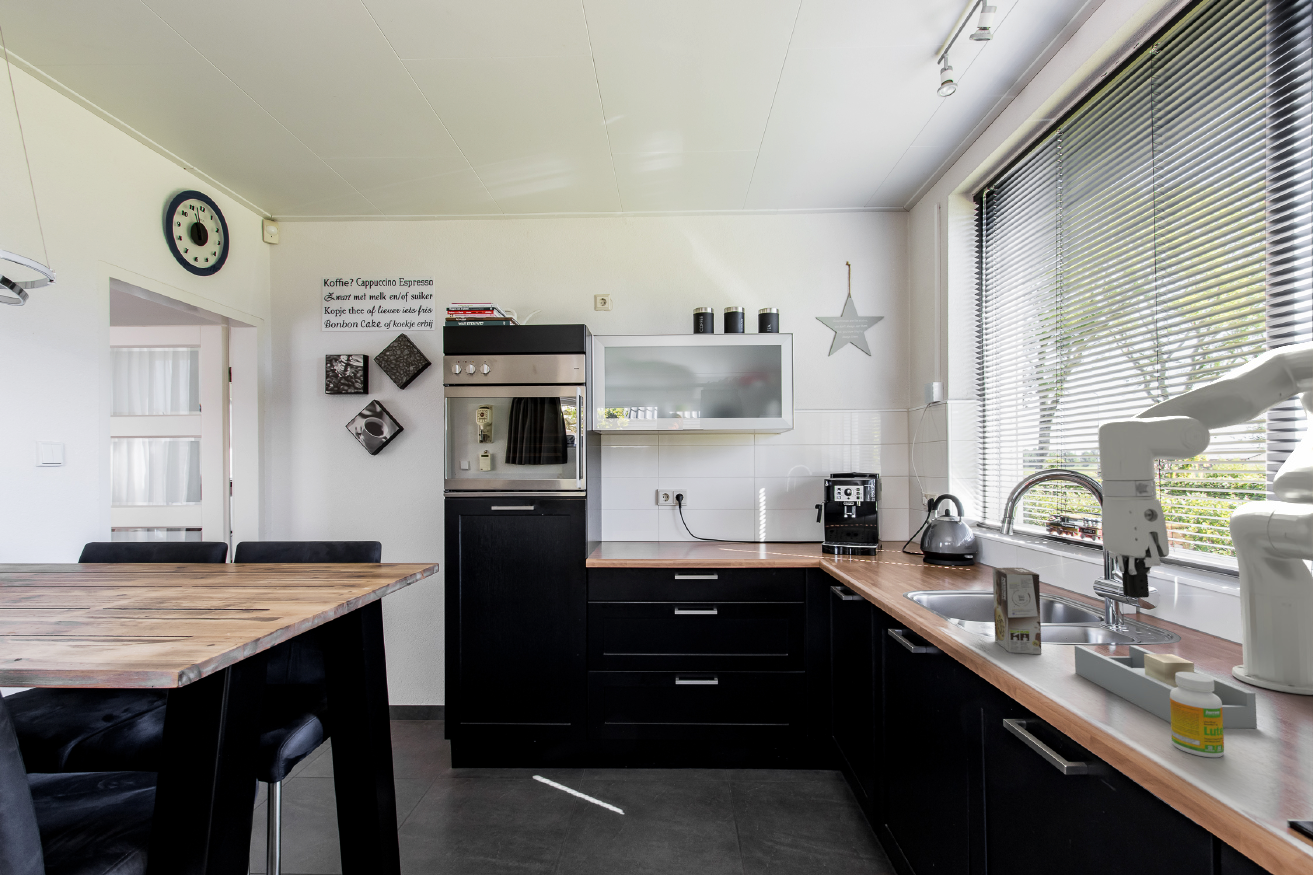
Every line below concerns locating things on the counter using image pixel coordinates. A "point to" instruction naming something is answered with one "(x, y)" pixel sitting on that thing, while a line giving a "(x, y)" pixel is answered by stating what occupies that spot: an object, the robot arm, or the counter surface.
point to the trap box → (1158, 686)
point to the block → (1166, 667)
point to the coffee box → (1017, 610)
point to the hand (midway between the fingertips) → (1136, 596)
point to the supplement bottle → (1196, 716)
